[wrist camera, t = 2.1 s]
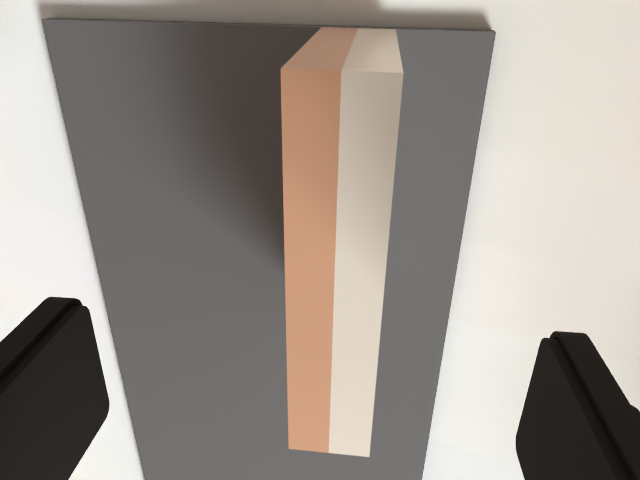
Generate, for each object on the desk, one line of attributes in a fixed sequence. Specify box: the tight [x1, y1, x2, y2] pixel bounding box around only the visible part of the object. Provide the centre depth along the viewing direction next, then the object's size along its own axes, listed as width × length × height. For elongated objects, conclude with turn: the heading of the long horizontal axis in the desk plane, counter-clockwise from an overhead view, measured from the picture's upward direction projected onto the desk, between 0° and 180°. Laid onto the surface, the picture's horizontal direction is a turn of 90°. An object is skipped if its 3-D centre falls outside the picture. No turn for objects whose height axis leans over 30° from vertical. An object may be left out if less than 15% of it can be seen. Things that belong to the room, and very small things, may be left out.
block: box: [281, 27, 403, 457], centre depth 15 cm, size 10×2×7 cm, turn 179°
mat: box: [41, 18, 496, 480], centre depth 22 cm, size 26×14×1 cm, turn 179°
